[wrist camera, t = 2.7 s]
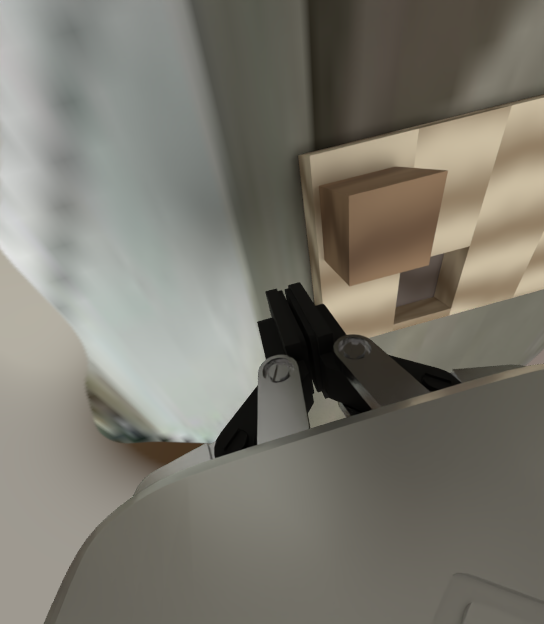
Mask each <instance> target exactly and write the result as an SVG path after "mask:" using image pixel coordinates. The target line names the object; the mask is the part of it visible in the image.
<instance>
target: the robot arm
mask: <svg viewBox="0 0 544 624" xmlns="http://www.w3.org/2000/svg"><path fill="white" fill-rule="evenodd" d="M285 294H286V298H285V296H284V294H283V292H282V290H281V291H277V289H273V290H269V291H266V296H267V300H268V304H269V308H270V312H271V316H272V318H269V319H265V320H262V321H258V322H257V323H258V327H259V331H260V336H261V340H262V344H263V348H264V353H265V357H266V360H265V361H264V362H263V363H262V364H261V366H260V367H259V371H258V386H257V387H256V388H255V389H254V391H253V392H252V393H251V395H250V396H249V397H248V398H247V400H246V401H245V402H244V404H243V405H242V406H241V407H240V409H239V410H238V411H237V413H236V414H235V415H234V416H233V418H232V419H231V420H230V422H229V423H228V424H227V425H226V427H225V428H224V429H223V431H222V432H221V433H220V435H219V436H218V438H217V440H216V441H215V442H214V443H212V444H210V445H208V444H207V443H205V444H204V445H202V446H200V447H198V448H196V449H194V450H193V451H191V452H189V453H187V454H185V455H183V456H181V457H180V458H178V459H176V460H174V461H173V462H170V463H169V464H167V465H165V466H163V467H161V468H160V469H158V470H156V471H154V472H152V473H151V474H149V475H148V476H147V477H145V478H144V479H143V481H142V482H141V483H140V484H139V485H138V487H137V489H136V491H135V493H134V495H133V497H132V498H130V499H129V500H127V501H126V502H125V503H124V504H122V505H121V506H119V507H118V508H117V509H116V510H115V511H113V512H112V513H111V514H110V515H109V516H108V517H107V518H106V519H104V520H103V522H101V523H100V524H99V525H98V526H97V527H96V528H95V530H94V531H93V532H92V533H91V535H90V536H89V537H88V538H87V539H86V541H85V542H84V544H83V545H82V547H81V548H80V549H79V551H78V553H77V554H76V556H75V558H74V560H73V561H72V563H71V565H70V567H69V569H68V571H67V573H66V575H65V577H64V579H63V581H62V583H61V586H60V588H59V590H58V592H57V595H56V597H55V599H54V601H53V603H52V605H51V608H50V610H49V612H48V615H47V617H46V619H45V622H44V624H544V364H537V365H530V366H522V365H500V366H488V367H476V368H464V369H452V372H451V373H448V372H447V371H444V370H442V369H439V368H435V367H431V366H428V365H424V364H420V363H416V362H413V361H409V360H405V359H401V358H398V357H394V356H390V355H388V354H386V353H385V352H384V351H383V350H382V349H381V348H380V347H379V346H377V345H376V344H375V343H374V342H373V341H372V340H370V339H369V338H367V337H365V336H362V335H357V334H350V335H347V334H346V333H345V332H344V330H343V329H342V328H341V326H340V325H339V323H338V322H337V321H336V319H335V318H334V317H333V315H332V314H331V312H330V311H329V310H328V308H327V307H326V306H325V305H324V304H319V305H314V303H313V302H312V300H311V298H310V297H309V295H308V294H307V292H306V291H305V289H304V288H303V286H302V285H301V283H300V282H299V283H295V284H291V285H288V289H285ZM286 299H287V300H286ZM312 380H313V382H312ZM313 383H314V385H315V388H316V390H317V392H321V391H322V393H323V395H324V397H325V399H326V398H331V399H333V400H335V401H338V405H339V407H340V409H341V410H342V412H343V413H344V415H345V416H346V418H344V419H340V420H337V421H334V422H330V423H327V424H324V425H320V426H317V427H314V428H311V429H310V423H309V418H308V412H309V410H310V409H311V407H312V405H313V403H314V400H313V394H314V388H313Z"/></svg>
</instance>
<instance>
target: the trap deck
mask: <svg viewBox="0 0 544 624" xmlns="http://www.w3.org/2000/svg"><path fill="white" fill-rule="evenodd" d="M298 159H299V168H300V177H301V186H302V195H303V204H304V213H305V222H306V230H307V239H308V248H309V257H310V266H311V275H312V284H313V293H314V302H315V305H319V304H324V305H325V306H326V307H327V308H328V310H329V311H330V312H331V314H332V315H333V317H334V318H335V319H336V321H337V322H338V323H339V325H340V326H341V328H342V329H343V330H344V332H345V333H346V334H347V335H350V334H357V335H362V336H365V337H367V338H369V337H373V336H377V335H380V334H384V333H387V332H391V331H395V330H398V329H402V328H405V327H409V326H412V325H416V324H420V323H423V322H427V321H430V320H434V319H438V318H441V317H445V316H448V315H452V314H456V313H459V312H463V311H466V310H470V309H474V308H477V307H481V306H484V305H488V304H492V303H495V302H499V301H502V300H506V299H510V298H513V297H517V296H520V295H524V294H528V293H531V292H535V291H538V290H542V289H544V94H543V95H539V96H535V97H531V98H527V99H523V100H519V101H515V102H511V103H507V104H503V105H499V106H495V107H491V108H487V109H483V110H479V111H475V112H471V113H467V114H463V115H459V116H455V117H451V118H446V119H442V120H438V121H434V122H430V123H426V124H422V125H418V126H414V127H410V128H406V129H402V130H398V131H394V132H390V133H386V134H382V135H378V136H374V137H370V138H366V139H362V140H358V141H354V142H350V143H346V144H342V145H338V146H334V147H330V148H326V149H322V150H318V151H314V152H310V153H306V154H301V155H298ZM395 166H397V167H410V168H422V169H435V170H448V174H447V179H446V183H445V188H444V193H443V198H442V203H441V208H440V213H439V218H438V223H437V227H436V232H435V237H434V242H433V247H432V252H431V257H430V262H429V265H427V266H424V267H420V268H416V269H412V270H409V271H405V272H401V273H398V274H394V275H390V276H386V277H383V278H379V279H375V280H372V281H368V282H364V283H361V284H357V285H353V286H349V285H348V284H347V283H346V282H345V281H344V280H343V279H342V278H341V277H340V276H339V275H338V274H337V273H336V272H335V271H334V270H333V269H332V268H331V267H330V266H329V265H328V264H327V263H326V262H325V261H324V248H323V234H322V220H321V207H320V193H319V186H320V185H324V184H328V183H332V182H336V181H340V180H344V179H348V178H352V177H356V176H360V175H364V174H368V173H372V172H376V171H380V170H384V169H387V168H391V167H395Z"/></svg>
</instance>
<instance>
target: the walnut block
mask: <svg viewBox="0 0 544 624" xmlns="http://www.w3.org/2000/svg"><path fill="white" fill-rule="evenodd" d="M447 174H448V170H435V169H422V168H410V167H397V166H395V167H391V168H387V169H384V170H380V171H376V172H372V173H368V174H364V175H360V176H356V177H352V178H348V179H344V180H340V181H336V182H332V183H328V184H324V185H320V186H319V193H320V207H321V220H322V234H323V248H324V261H325V262H326V263H327V264H328V265H329V266H330V267H331V268H332V269H333V270H334V271H335V272H336V273H337V274H338V275H339V276H340V277H341V278H342V279H343V280H344V281H345V282H346V283H347V284H348V285H349V286H353V285H357V284H361V283H364V282H368V281H372V280H375V279H379V278H383V277H386V276H390V275H394V274H398V273H401V272H405V271H409V270H412V269H416V268H420V267H424V266H427V265H429V262H430V257H431V252H432V247H433V242H434V237H435V232H436V227H437V223H438V218H439V213H440V208H441V203H442V198H443V193H444V188H445V183H446V179H447Z"/></svg>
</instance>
